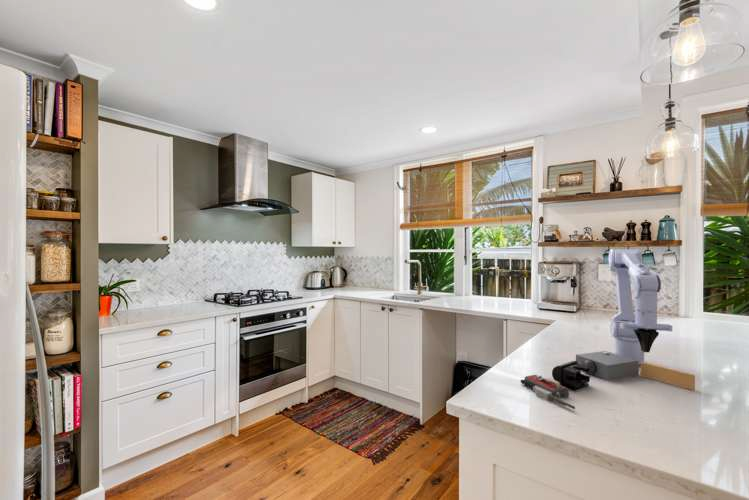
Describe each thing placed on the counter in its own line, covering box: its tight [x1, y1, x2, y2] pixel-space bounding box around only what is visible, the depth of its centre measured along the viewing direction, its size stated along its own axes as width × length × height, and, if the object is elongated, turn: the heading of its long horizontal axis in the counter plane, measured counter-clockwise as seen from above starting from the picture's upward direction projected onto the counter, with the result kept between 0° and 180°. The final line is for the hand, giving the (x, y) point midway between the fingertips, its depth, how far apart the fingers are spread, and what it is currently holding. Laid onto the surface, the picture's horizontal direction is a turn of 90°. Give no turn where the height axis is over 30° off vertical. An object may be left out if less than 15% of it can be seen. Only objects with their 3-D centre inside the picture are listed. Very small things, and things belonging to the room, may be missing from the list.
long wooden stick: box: [640, 361, 696, 391], centre depth 113 cm, size 14×1×4 cm, turn 30°
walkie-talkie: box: [520, 374, 576, 410], centre depth 103 cm, size 9×4×20 cm
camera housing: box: [575, 350, 640, 381], centre depth 123 cm, size 17×12×6 cm
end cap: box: [551, 360, 591, 392], centre depth 111 cm, size 10×7×7 cm
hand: (645, 351), depth 115 cm, fingers closed
